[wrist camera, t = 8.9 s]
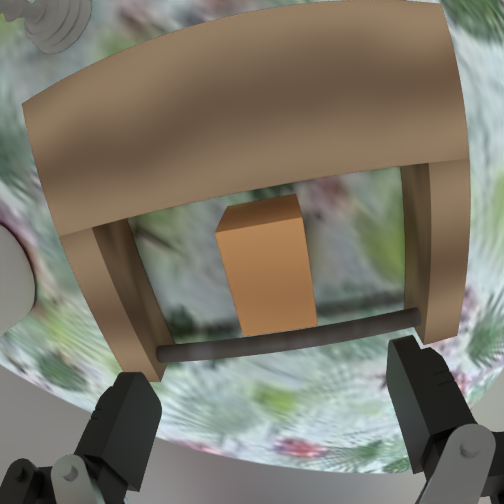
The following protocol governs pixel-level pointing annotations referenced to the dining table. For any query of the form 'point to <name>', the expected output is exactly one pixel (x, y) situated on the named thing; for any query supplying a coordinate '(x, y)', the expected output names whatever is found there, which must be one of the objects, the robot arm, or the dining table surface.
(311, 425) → the dining table surface
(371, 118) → the shelf
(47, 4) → the chalice
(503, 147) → the dining table surface
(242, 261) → the tall cardboard carton
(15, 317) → the mug
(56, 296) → the dining table surface
